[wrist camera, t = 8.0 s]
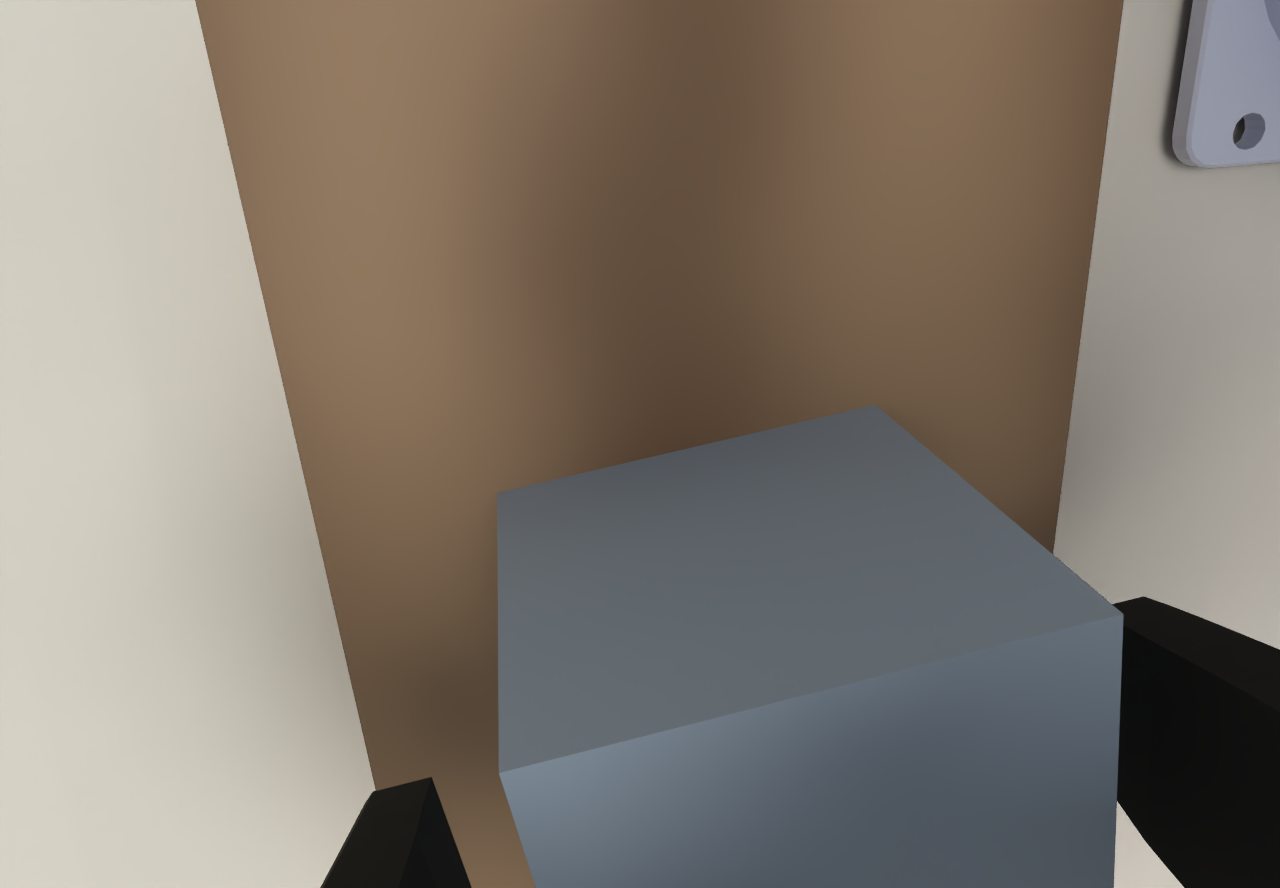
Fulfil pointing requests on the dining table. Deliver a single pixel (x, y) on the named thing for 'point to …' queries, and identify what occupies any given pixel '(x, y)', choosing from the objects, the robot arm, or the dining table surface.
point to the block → (800, 674)
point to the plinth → (639, 277)
